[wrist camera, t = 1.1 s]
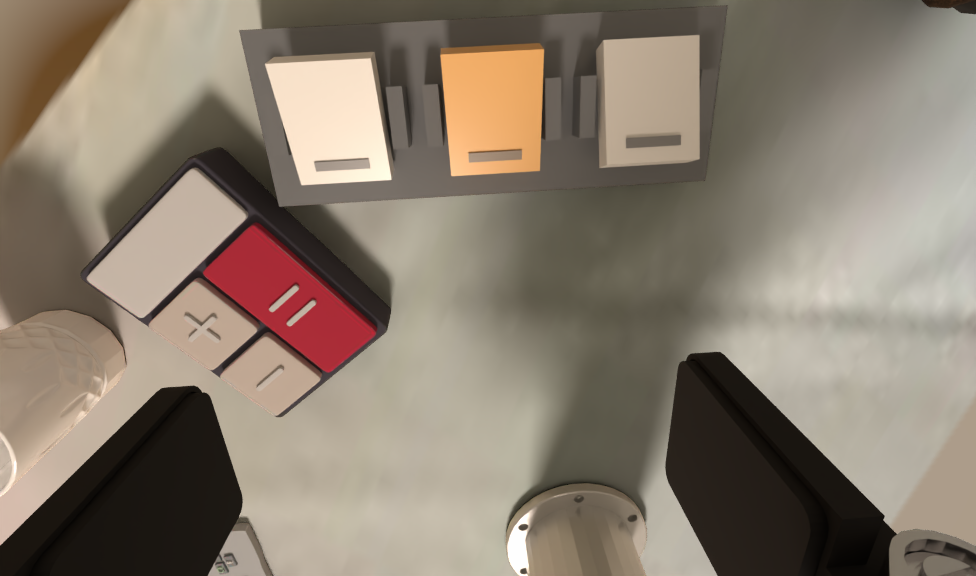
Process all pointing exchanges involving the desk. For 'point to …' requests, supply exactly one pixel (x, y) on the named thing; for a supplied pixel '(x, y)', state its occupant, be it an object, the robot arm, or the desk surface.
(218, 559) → the office telephone
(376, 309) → the calculator
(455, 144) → the rocker middle
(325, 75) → the rocker
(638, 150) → the rocker
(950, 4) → the headset
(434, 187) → the rocker switch panel
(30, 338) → the white cup
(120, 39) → the desk surface
